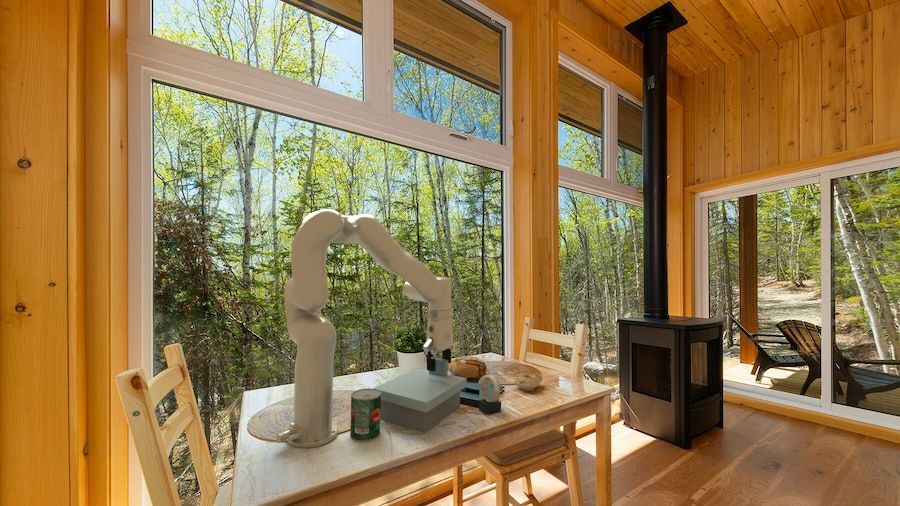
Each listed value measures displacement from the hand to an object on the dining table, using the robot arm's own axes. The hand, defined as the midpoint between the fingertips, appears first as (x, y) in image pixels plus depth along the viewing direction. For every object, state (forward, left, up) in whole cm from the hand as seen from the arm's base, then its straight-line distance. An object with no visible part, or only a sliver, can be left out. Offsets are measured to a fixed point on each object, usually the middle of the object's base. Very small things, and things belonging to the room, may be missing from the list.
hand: (439, 366), depth 120 cm
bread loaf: (+27, +2, -12) cm, 29 cm away
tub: (-10, 0, -12) cm, 15 cm away
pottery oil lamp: (+29, -22, -12) cm, 39 cm away
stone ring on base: (+3, -17, -12) cm, 21 cm away
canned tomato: (-29, +5, -12) cm, 32 cm away
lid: (-10, 0, -5) cm, 11 cm away
